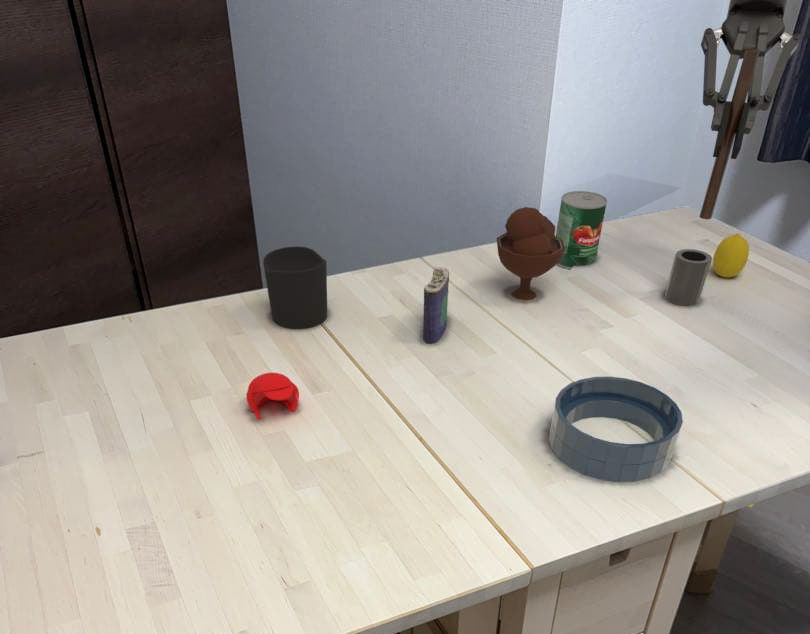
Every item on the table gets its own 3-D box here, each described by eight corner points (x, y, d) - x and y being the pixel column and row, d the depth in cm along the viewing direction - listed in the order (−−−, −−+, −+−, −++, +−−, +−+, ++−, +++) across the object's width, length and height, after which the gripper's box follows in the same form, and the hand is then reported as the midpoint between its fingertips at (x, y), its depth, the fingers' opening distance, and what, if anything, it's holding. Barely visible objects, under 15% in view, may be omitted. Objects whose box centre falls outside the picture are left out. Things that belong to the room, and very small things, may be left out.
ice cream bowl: (549, 318, 120) (563, 224, 110) (482, 306, 123) (490, 213, 112) (562, 291, 127) (577, 200, 117) (499, 280, 130) (508, 191, 120)
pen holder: (336, 310, 121) (332, 249, 114) (321, 337, 114) (316, 275, 108) (280, 304, 122) (273, 244, 115) (262, 332, 116) (254, 269, 109)
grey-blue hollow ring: (680, 434, 97) (693, 394, 93) (654, 501, 87) (667, 460, 83) (568, 404, 102) (576, 365, 98) (532, 465, 92) (538, 424, 88)
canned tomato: (584, 273, 133) (596, 210, 125) (544, 263, 136) (553, 200, 128) (602, 258, 137) (614, 196, 130) (562, 248, 140) (572, 187, 133)
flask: (432, 319, 119) (435, 253, 112) (450, 322, 119) (455, 256, 111) (420, 347, 113) (422, 279, 105) (439, 350, 112) (442, 282, 105)
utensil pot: (700, 299, 126) (714, 253, 120) (694, 313, 122) (708, 265, 116) (667, 292, 127) (679, 246, 122) (660, 306, 124) (672, 259, 118)
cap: (238, 411, 100) (231, 372, 96) (273, 394, 103) (268, 355, 99) (275, 436, 96) (270, 396, 92) (310, 417, 99) (307, 378, 95)
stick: (712, 216, 115) (760, 49, 100) (710, 220, 114) (759, 51, 99) (700, 214, 116) (746, 47, 101) (698, 218, 115) (744, 50, 99)
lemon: (739, 288, 129) (755, 242, 124) (706, 283, 130) (720, 237, 125) (740, 275, 133) (755, 230, 127) (708, 270, 134) (721, 225, 129)
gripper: (806, 14, 107) (774, 172, 107) (700, 7, 110) (668, 162, 110) (825, -28, 100) (790, 142, 100) (711, -33, 103) (677, 132, 103)
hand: (726, 152), depth 105 cm, fingers closed on stick, 2 cm apart
